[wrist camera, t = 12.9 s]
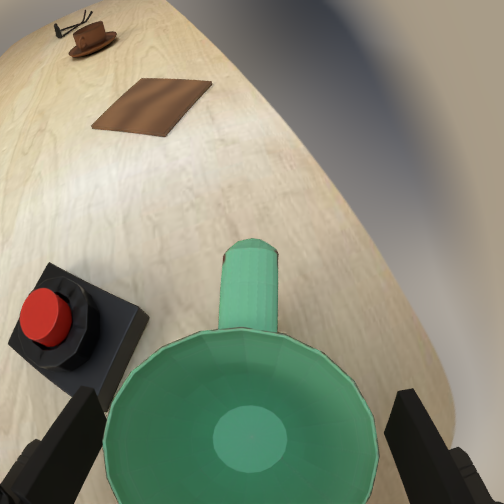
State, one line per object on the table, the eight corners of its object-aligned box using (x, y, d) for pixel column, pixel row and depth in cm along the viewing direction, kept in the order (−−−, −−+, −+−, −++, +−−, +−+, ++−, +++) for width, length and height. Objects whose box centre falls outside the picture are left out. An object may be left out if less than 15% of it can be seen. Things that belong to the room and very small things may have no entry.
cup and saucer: (119, 45, 50) (112, 22, 45) (68, 67, 49) (60, 45, 43) (117, 33, 56) (112, 14, 51) (73, 52, 54) (66, 32, 49)
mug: (323, 504, 14) (368, 565, 6) (172, 497, 15) (102, 545, 6) (324, 300, 22) (360, 217, 13) (187, 298, 22) (140, 215, 14)
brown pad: (212, 84, 37) (211, 81, 37) (165, 137, 32) (163, 133, 31) (142, 80, 39) (141, 78, 39) (92, 128, 34) (90, 125, 34)
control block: (150, 317, 21) (129, 296, 18) (106, 412, 18) (77, 409, 14) (61, 273, 24) (37, 250, 20) (23, 350, 20) (-7, 336, 16)
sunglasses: (97, 21, 70) (93, 9, 65) (57, 40, 66) (53, 29, 62) (89, 17, 77) (86, 7, 72) (55, 34, 73) (51, 24, 69)
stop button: (80, 309, 18) (66, 299, 16) (58, 356, 16) (42, 349, 15) (48, 290, 19) (35, 280, 17) (27, 332, 17) (12, 324, 16)
